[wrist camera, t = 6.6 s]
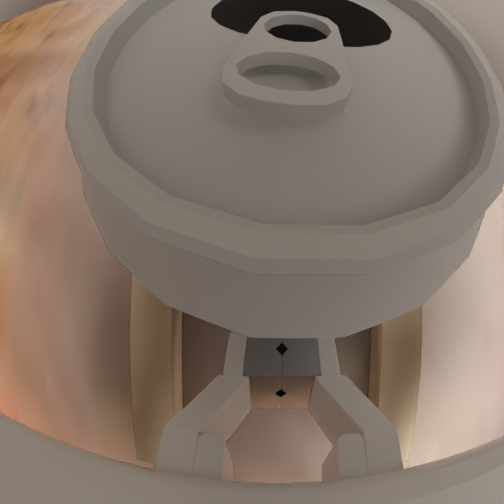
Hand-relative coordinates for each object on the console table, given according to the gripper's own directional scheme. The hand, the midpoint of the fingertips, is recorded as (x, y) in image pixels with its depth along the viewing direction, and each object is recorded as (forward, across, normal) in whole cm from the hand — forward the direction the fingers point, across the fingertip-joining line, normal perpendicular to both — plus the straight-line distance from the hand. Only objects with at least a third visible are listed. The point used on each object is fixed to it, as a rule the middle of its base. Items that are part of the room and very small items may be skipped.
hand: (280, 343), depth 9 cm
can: (+7, 0, 0) cm, 7 cm away
